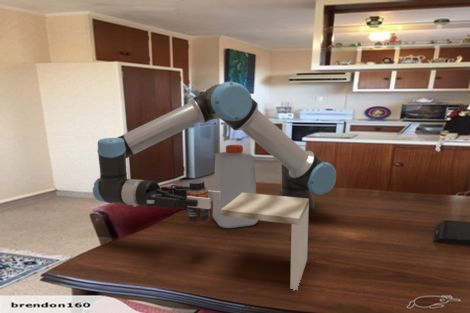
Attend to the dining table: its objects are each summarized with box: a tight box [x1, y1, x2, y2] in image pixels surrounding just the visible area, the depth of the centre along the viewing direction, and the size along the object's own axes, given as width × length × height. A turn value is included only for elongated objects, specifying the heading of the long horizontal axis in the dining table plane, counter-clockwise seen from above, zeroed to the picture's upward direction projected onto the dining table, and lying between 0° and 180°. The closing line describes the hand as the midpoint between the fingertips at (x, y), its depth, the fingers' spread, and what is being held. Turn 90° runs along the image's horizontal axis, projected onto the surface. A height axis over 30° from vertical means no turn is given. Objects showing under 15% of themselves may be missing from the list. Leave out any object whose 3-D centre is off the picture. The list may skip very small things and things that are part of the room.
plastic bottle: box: [212, 144, 259, 229], centre depth 118 cm, size 15×15×28 cm
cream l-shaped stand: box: [221, 193, 310, 291], centre depth 84 cm, size 19×16×18 cm
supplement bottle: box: [186, 179, 210, 225], centre depth 88 cm, size 6×6×11 cm
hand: (215, 199), depth 86 cm, fingers closed on supplement bottle, 6 cm apart
